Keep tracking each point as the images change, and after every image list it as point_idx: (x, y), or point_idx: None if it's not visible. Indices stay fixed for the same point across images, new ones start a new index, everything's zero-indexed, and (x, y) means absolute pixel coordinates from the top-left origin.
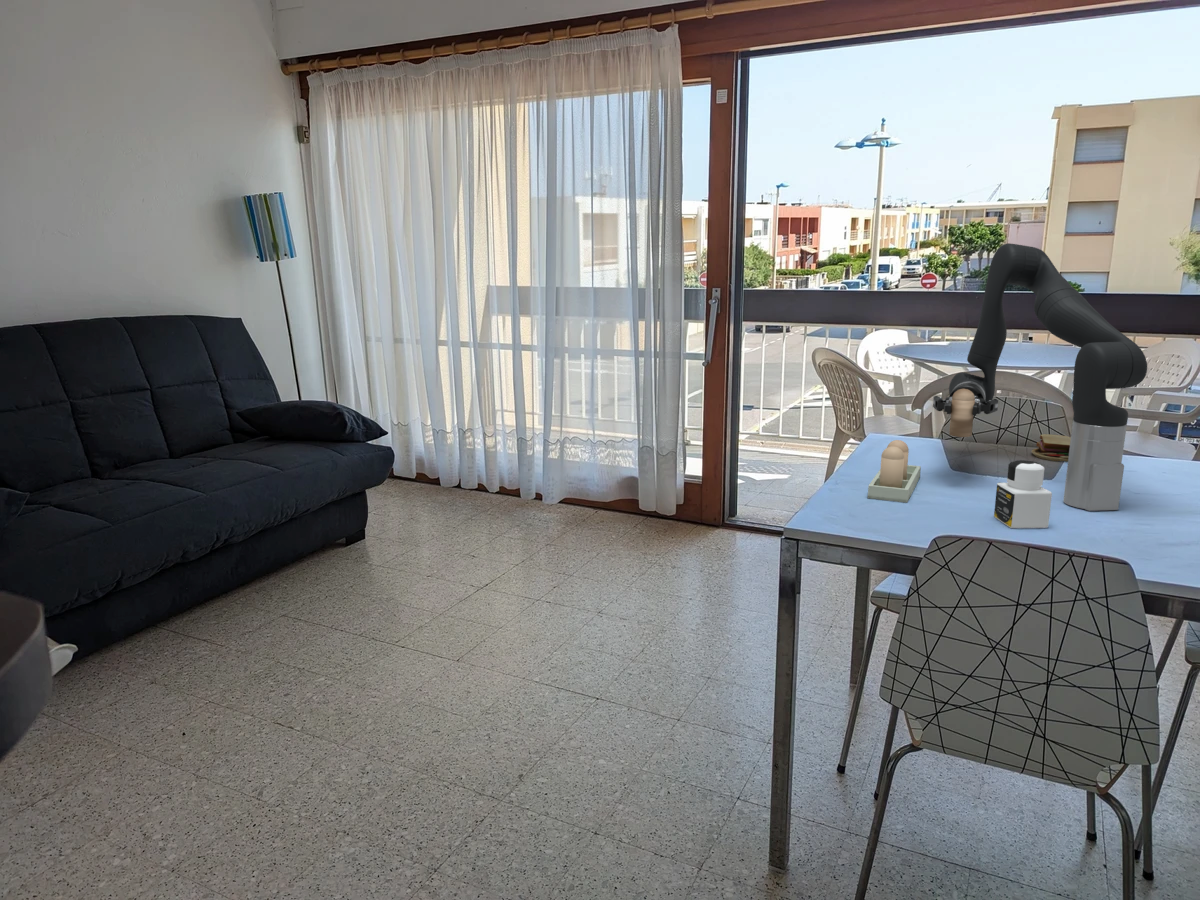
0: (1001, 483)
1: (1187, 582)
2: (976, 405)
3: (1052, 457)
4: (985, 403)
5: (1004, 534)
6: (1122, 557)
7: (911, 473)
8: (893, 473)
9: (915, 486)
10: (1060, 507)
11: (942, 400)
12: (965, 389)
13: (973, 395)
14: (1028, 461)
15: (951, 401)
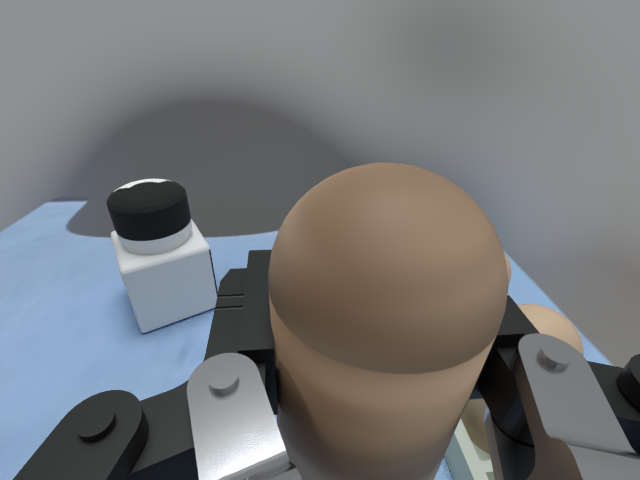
0: (201, 241)
1: (42, 206)
2: (252, 257)
3: None
4: (141, 407)
5: (212, 249)
6: (72, 234)
7: (485, 462)
8: None
9: (453, 478)
10: (6, 452)
11: (628, 365)
12: (374, 166)
13: (283, 223)
14: (138, 192)
15: (516, 351)
